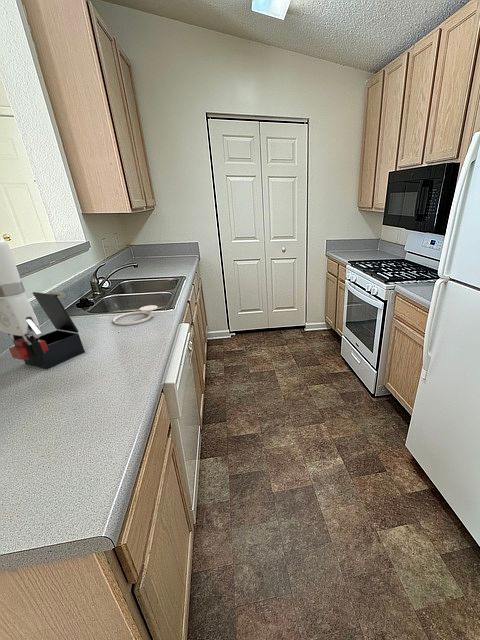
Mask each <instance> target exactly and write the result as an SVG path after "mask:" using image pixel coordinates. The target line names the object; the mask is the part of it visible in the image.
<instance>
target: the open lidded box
mask: <svg viewBox="0 0 480 640" xmlns="http://www.w3.org/2000/svg"><path fill="white" fill-rule="evenodd" d="M39 339H40V340H43V341H45V342H46V344H47V347H48V350H47V352H46V353H45V354H43V355H42V356H39V357H36V358H34V359H32V358H30V359H29V360H27V361H26V360H23V362H24V364H25V365H26V366H31V367H35V368H39V369H45V370H49V369H51V368H54V367H55V366H57V365H60V364H62V363H65V362H67V361H69V360H71V359H74V358H76V357H78V356H80V355H82V354H85V353H86V351H85V348H84V345H83V342H82V339H81V336H80V334H79V332H78V333H75V332H70V331H64V330H58V329H55V330H53V331H51V332H48V333H45V334H42V335H41V336H40V338H39Z"/></svg>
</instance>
